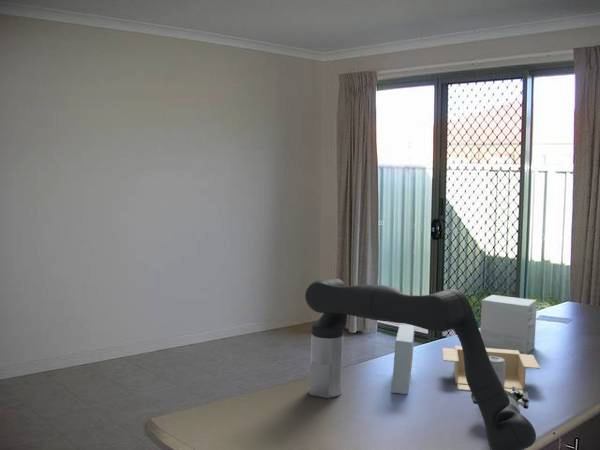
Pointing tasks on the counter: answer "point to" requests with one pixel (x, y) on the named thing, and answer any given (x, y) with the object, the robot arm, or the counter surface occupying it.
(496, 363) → the beverage can
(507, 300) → the supplement box
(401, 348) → the skincare box
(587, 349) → the counter surface
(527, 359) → the carton
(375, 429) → the counter surface
